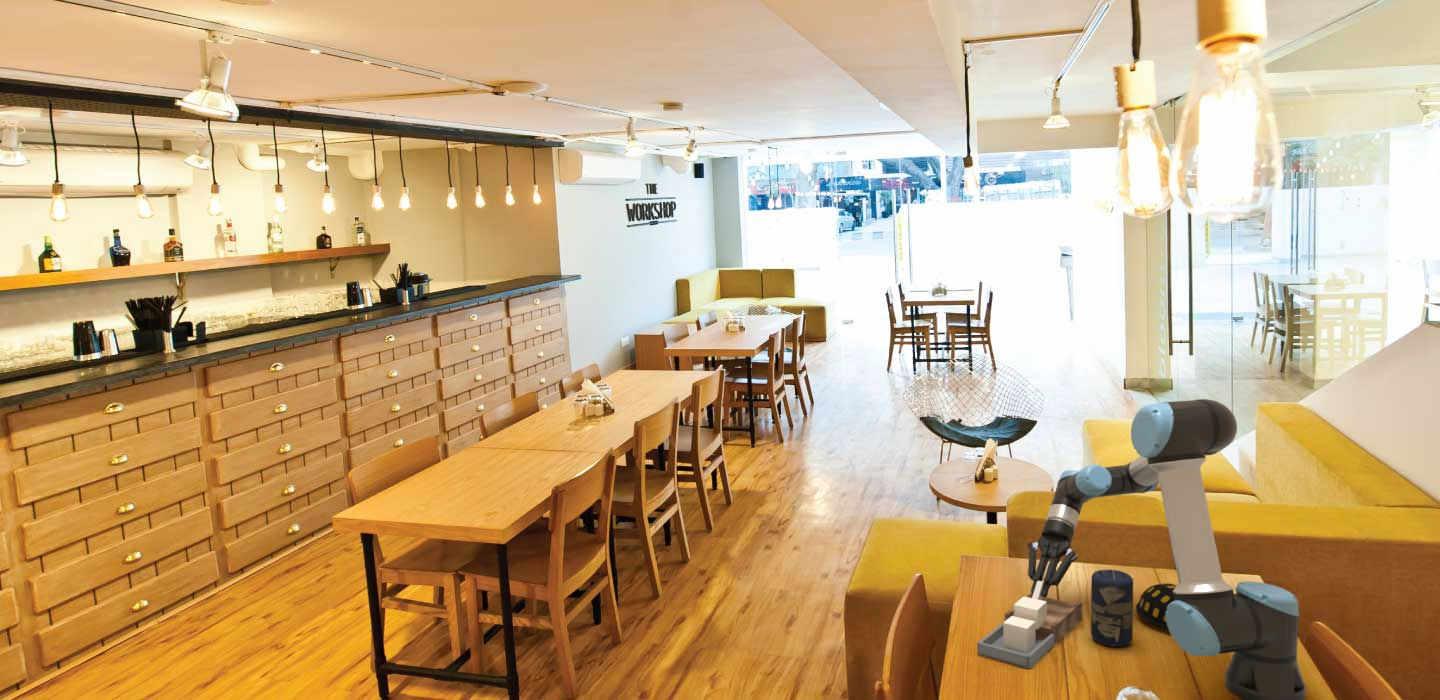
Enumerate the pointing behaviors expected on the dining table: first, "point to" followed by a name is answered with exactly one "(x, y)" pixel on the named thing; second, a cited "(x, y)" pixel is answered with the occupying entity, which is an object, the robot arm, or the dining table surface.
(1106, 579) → the canister
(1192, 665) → the dining table surface
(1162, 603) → the yellow spotted black dome
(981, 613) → the dining table surface
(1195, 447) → the robot arm
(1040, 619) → the block
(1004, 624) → the block
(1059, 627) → the board
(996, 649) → the tray
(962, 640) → the dining table surface
